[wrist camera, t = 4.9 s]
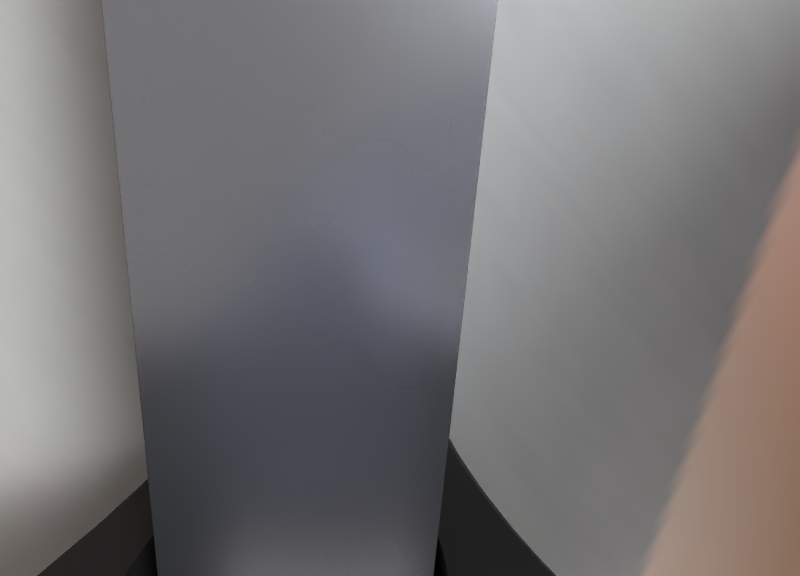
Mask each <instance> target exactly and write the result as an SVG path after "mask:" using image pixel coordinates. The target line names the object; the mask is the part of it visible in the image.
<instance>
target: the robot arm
mask: <svg viewBox="0 0 800 576" xmlns="http://www.w3.org/2000/svg"><path fill="white" fill-rule="evenodd" d="M37 576H158V573H157V562H156V552H155V542H154V532H153V522H152V512H151V501H150V491H149V481H148V479H147V480H146V481H145V482H144V483H143V484H142V485H141V486H140V487H139V488H138V489H137V490H136V491H135V492H133V493H132V494H131V495H130V496H129V497H128V498H127V499H126V500H125V501H124V502H123V503H121V504H120V505H119V506H118V507H117V508H116V509H115V510H114V511H113V512H112V513H110V514H109V515H108V516H107V517H106V518H105V519H104V520H103V521H102V522H101V523H99V524H98V525H97V526H96V527H95V528H94V529H92V530H91V531H90V532H89V533H88V534H87V535H85V536H84V537H83V538H82V539H81V540H79V541H78V542H77V543H76V544H75V545H73V546H72V547H71V548H70V549H69V550H67V551H66V552H65V553H64V554H63V555H62V556H60V557H59V558H58V559H57V560H56V561H54V562H53V563H52V564H51V565H50V566H48V567H47V568H46V569H45V570H44V571H42V572H41V573H40V574H39V575H37ZM433 576H556V575H555V574H554V573H553V572H552V571H551V570H550V569H549V568H548V567H547V566H546V565H545V564H544V563H543V562H542V560H541V559H540V558H539V557H538V556H537V555H536V554H535V553H534V552H533V551H532V550H531V548H530V547H529V546H528V545H527V544H526V543H525V542H524V541H523V539H522V538H521V537H520V536H519V535H518V534H517V533H516V531H515V530H514V529H513V528H512V527H511V525H510V524H509V523H508V522H507V521H506V519H505V518H504V517H503V516H502V514H501V513H500V512H499V511H498V509H497V508H496V507H495V505H494V504H493V503H492V502H491V500H490V499H489V498H488V496H487V495H486V494H485V492H484V491H483V490H482V488H481V487H480V486H479V484H478V483H477V481H476V480H475V479H474V477H473V476H472V474H471V473H470V471H469V470H468V468H467V467H466V465H465V464H464V462H463V461H462V459H461V458H460V456H459V454H458V453H457V451H456V449H455V448H454V446H453V444H452V442H451V440H450V439H449V440H448V449H447V458H446V467H445V476H444V485H443V494H442V503H441V512H440V521H439V530H438V539H437V547H436V556H435V565H434V574H433Z"/></svg>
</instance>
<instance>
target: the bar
mask: <svg viewBox="0 0 800 576" xmlns="http://www.w3.org/2000/svg"><path fill="white" fill-rule="evenodd" d="M101 3H102V13H103V23H104V33H105V44H106V54H107V64H108V74H109V84H110V94H111V105H112V115H113V125H114V135H115V145H116V155H117V166H118V176H119V186H120V196H121V206H122V217H123V227H124V237H125V247H126V257H127V267H128V278H129V288H130V298H131V308H132V318H133V328H134V339H135V349H136V359H137V369H138V379H139V389H140V400H141V410H142V420H143V430H144V440H145V450H146V461H147V471H148V481H149V491H150V501H151V512H152V522H153V532H154V542H155V552H156V562H157V573H158V576H433V574H434V565H435V556H436V547H437V539H438V530H439V521H440V512H441V503H442V494H443V485H444V476H445V467H446V458H447V449H448V440H449V431H450V422H451V414H452V405H453V396H454V387H455V378H456V369H457V360H458V351H459V342H460V333H461V324H462V315H463V306H464V298H465V289H466V280H467V271H468V262H469V253H470V244H471V235H472V226H473V217H474V208H475V199H476V190H477V181H478V173H479V164H480V155H481V146H482V137H483V128H484V119H485V110H486V101H487V92H488V83H489V74H490V65H491V57H492V48H493V39H494V30H495V21H496V12H497V3H498V0H101Z"/></svg>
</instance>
